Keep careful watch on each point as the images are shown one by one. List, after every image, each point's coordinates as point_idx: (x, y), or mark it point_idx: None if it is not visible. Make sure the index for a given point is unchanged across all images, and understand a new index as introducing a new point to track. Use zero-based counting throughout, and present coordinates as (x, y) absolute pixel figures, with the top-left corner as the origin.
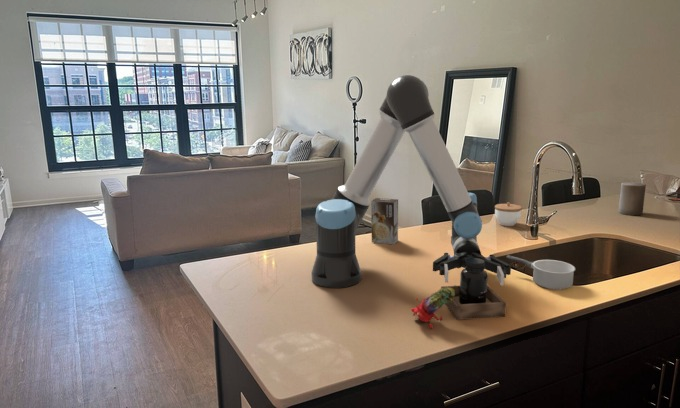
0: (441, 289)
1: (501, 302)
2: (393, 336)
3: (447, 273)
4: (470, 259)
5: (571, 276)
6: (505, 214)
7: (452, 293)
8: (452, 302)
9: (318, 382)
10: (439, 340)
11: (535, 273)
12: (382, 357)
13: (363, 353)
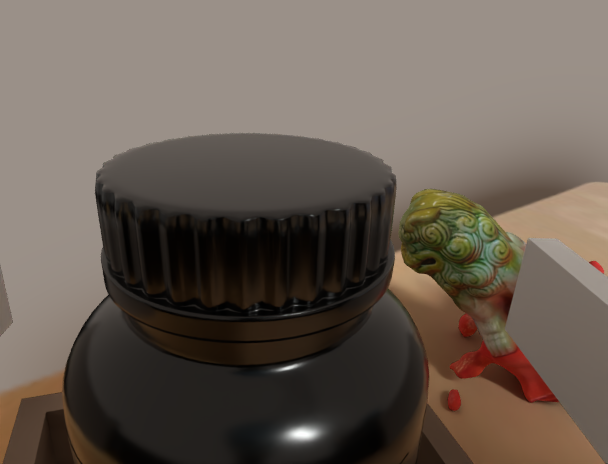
0: (478, 204)
1: (52, 403)
2: None
3: (534, 247)
4: (319, 176)
5: None
6: None
7: (409, 206)
8: None
9: (579, 195)
10: (407, 283)
11: None
12: (523, 232)
13: (578, 239)
